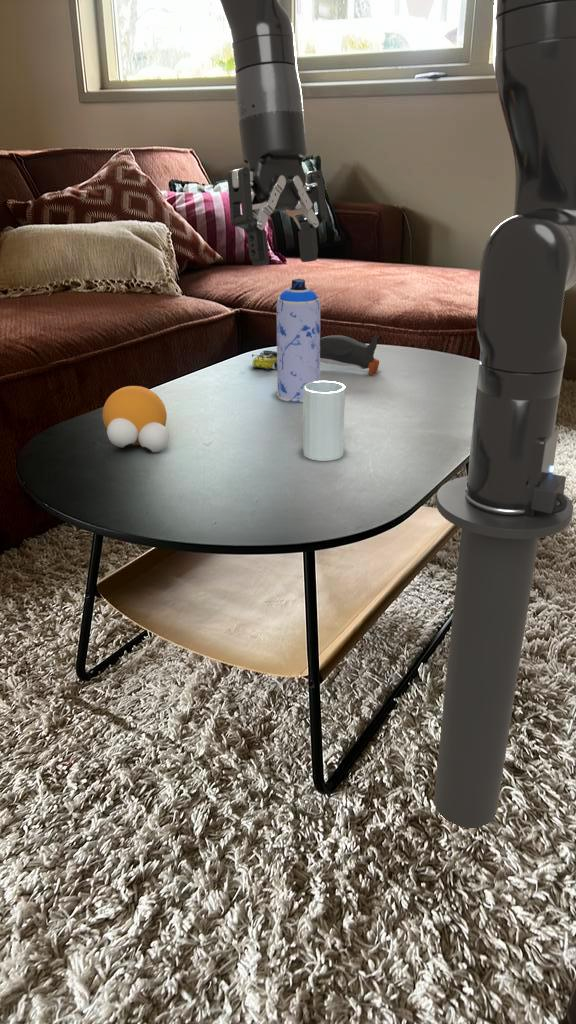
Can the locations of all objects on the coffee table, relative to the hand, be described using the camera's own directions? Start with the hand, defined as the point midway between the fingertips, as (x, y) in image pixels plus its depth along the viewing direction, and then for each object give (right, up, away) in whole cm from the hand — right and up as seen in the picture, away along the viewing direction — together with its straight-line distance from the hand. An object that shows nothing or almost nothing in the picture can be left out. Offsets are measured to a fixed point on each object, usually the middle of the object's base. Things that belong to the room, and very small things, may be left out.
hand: (286, 263), depth 92 cm
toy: (-22, -19, +24) cm, 38 cm away
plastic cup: (+5, -22, +19) cm, 29 cm away
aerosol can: (+2, -9, +44) cm, 45 cm away
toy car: (-3, 0, +63) cm, 63 cm away
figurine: (+11, -2, +59) cm, 60 cm away
